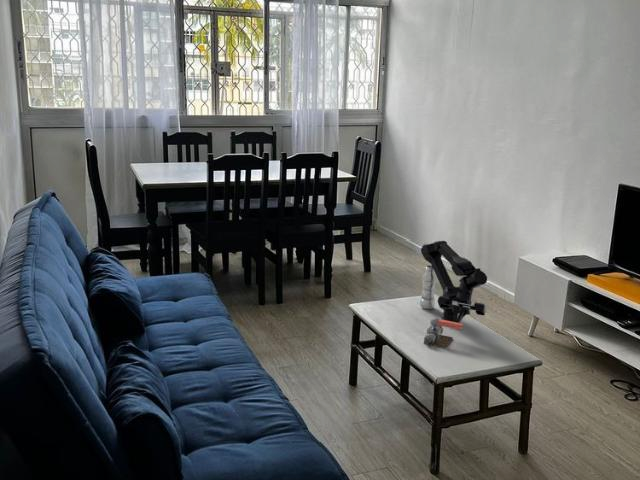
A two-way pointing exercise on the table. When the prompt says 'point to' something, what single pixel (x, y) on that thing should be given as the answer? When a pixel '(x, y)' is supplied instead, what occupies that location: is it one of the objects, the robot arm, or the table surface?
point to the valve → (436, 337)
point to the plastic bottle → (428, 288)
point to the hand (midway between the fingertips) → (456, 324)
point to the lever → (446, 323)
